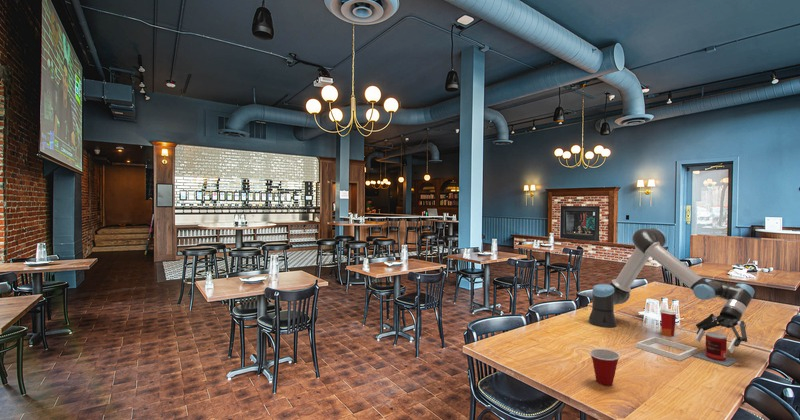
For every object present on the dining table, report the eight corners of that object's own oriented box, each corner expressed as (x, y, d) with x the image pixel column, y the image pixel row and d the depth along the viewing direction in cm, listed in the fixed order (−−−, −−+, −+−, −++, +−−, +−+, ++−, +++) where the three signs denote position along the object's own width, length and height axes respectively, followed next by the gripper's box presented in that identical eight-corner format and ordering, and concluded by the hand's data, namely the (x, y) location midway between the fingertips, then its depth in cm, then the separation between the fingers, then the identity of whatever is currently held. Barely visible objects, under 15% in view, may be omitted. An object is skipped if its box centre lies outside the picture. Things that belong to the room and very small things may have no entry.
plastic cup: (583, 376, 156) (583, 348, 156) (607, 376, 157) (608, 347, 157) (599, 389, 145) (599, 358, 145) (625, 388, 146) (626, 358, 146)
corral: (636, 347, 191) (636, 342, 191) (654, 341, 201) (654, 336, 201) (679, 360, 175) (679, 355, 175) (697, 353, 185) (697, 348, 185)
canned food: (721, 355, 181) (721, 333, 181) (729, 362, 173) (730, 338, 173) (702, 353, 183) (702, 331, 183) (709, 359, 176) (710, 336, 176)
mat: (693, 356, 180) (693, 355, 180) (704, 351, 187) (704, 350, 187) (727, 366, 169) (727, 365, 169) (738, 360, 176) (738, 359, 176)
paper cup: (670, 332, 215) (671, 308, 215) (679, 337, 208) (680, 312, 208) (656, 332, 216) (656, 308, 216) (664, 336, 209) (665, 311, 209)
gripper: (768, 323, 172) (748, 360, 167) (706, 309, 195) (687, 341, 190) (762, 313, 170) (741, 350, 165) (700, 300, 193) (681, 332, 188)
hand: (712, 345), depth 177 cm, fingers open, 13 cm apart
